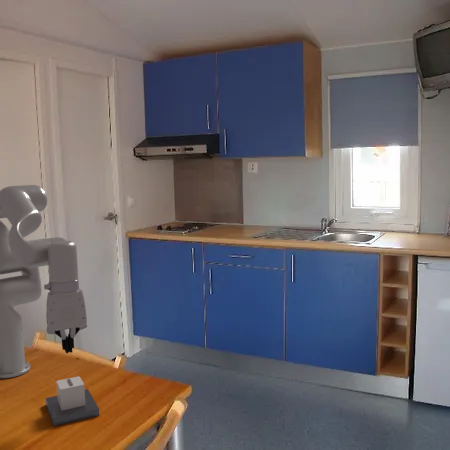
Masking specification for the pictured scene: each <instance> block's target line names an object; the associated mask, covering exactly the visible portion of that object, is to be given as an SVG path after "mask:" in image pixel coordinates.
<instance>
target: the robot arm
mask: <svg viewBox="0 0 450 450" xmlns="http://www.w3.org/2000/svg"><path fill="white" fill-rule="evenodd" d="M47 205H48V196H47V193H46V191H45V189H43V188H42V187H41V186H40V185H37V184H26V185H25V184H24V185H23V184H21V185H11V186H10V185H9V186H6V187H3V188H2V189H1V190H0V219H7V220H8V222H9V223H10V225H11V227H10V229H9V228H8V226H7V225H6V224H5V223H4V222H3V221H1V220H0V275H8V274H12V273H18V272H21V275H16V276H9V277H4V278H0V379H9V378H15V377H19V376H22V375H24V374H26V373H27V372H29V371H30V370H31V364H30V362H29V361H26V356H25V355H26V354H25V341H24V328H23V319H22V316H21V314H20V313H19V312H18V311H17V310H15V309H14V307H15V306H19V305H23V304H28V303H33V302H36V301H38V300H39V299H41V298H40V297H41V296H42V291H43V290H42V289H43V288H44V291H45V290H46V291H48V292H47V295H46V296H47V297H46V325H47V326H46V334H48V335H56V336H58V337H59V338H60V339H61V348H62V351H64V352H65V354H69V353H73V349H74V348H75V337H76V335H77V334H78V333H79V331H82V330H84V329H87V327H88V325H87V321H88V320H87V319H88V318H87V309H86V301H85V297H84V292H83V290H82V289H81V288H80V287H79V285H80V284H79V269H78V265H79V264H78V252H77V251H78V249H77V245H76V243H75V242H74V241H71V240H67V239H65V238H63V237H59V236H58V237H49V238H48V237H47V238H39V239H31V240H26V239H25V237H28V236H29V235H30V234H32V233H34V232H35V231H36V230H38V229H39V227H40V226H41V224H42V221H43V216H42V213H41V212H43V211H44V210H45V209H46V207H47ZM45 266H46V267H47V266H48V277H49V279H48V280H49V281H48V283H46V284H44V285H43V288H42V281H41V280H42V279H41V275H40V267H45ZM66 330H68V334H66Z"/></svg>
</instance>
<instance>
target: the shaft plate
mask: <svg viewBox="0 0 450 450" xmlns="http://www.w3.org/2000/svg"><path fill="white" fill-rule="evenodd" d="M45 404H46V409H47V411H48V414H49V416H50V419H51V422H52V425H53V427H56V426H57V427H58V426H61V425H64V424H69V423H73V422H77V421H81V420H86V419H90V418H94V417H98V416H100V409H99V406H98V404H97V402H96V401H95V399H94V397H93V395H92V394H91V392H90V390H89V388H86V389H85V405H84V406H80V407H75V408H71V409H67V410H61V408H60V405H59V403H58V398H57V395H53V396H49V397H45Z"/></svg>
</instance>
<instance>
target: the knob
mask: <svg viewBox="0 0 450 450" xmlns="http://www.w3.org/2000/svg"><path fill="white" fill-rule="evenodd" d="M85 388H86V387H85V383H84V381H83V380H82V378H81V377H80V376H75V377H70V378H69V377H68V378H65V379H64V378H63V379H59V380H56V396H57V398H58V403H59V405H60V408H61V410H67V409H71V408H75V407H80V406H84V405H85V390H86V389H85Z"/></svg>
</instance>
